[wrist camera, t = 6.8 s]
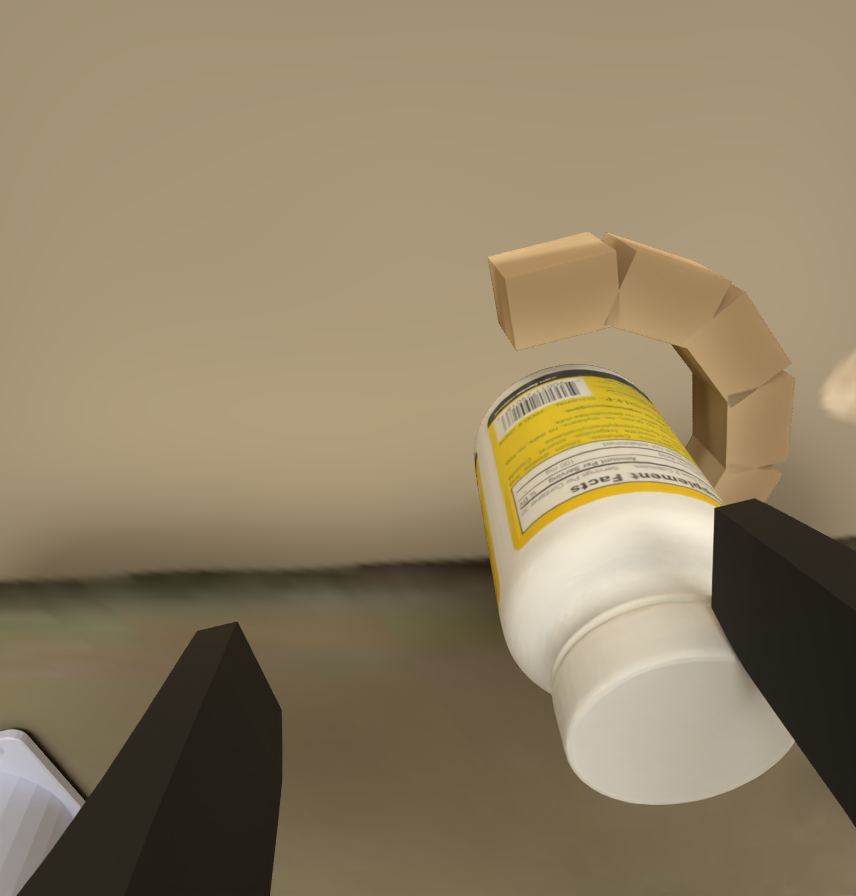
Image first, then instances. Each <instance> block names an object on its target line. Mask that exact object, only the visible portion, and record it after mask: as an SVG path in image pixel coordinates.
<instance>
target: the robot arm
mask: <svg viewBox="0 0 856 896" xmlns="http://www.w3.org/2000/svg"><path fill="white" fill-rule="evenodd" d="M711 608H712V610H713V612H714V614H715V616H716V618H717V620H718V621H719V623H720V625H721V627H722V629H723V631H724V633H725V635H726V637H727V639H728V641H729V642H730V644H731V646H732V648H733V650H734V651H735V653H736V655H737V657H738V658H739V660H740V662H741V664H742V666H743V667H744V669H745V671H746V672H747V673H748V675H749V676H750V678H751V679H752V681H753V682H754V684H755V685H756V687H757V688H758V689H759V691H760V692H761V694H762V695H763V697H764V698H765V699H766V701H767V702H768V704H769V705H770V706H771V708H772V709H773V711H774V712H775V714H776V715H777V716H778V718H779V719H780V721H781V722H782V724H783V725H784V726H785V728H786V729H787V731H788V732H789V733H790V735H791V736H792V738H793V739H794V740H795V742H796V743H797V745H798V746H799V747H800V749H801V750H802V752H803V753H804V754H805V756H806V757H807V759H808V760H809V761H810V763H811V764H812V766H813V767H814V768H815V770H816V771H817V773H818V774H819V775H820V777H821V778H822V780H823V781H824V782H825V784H826V785H827V787H828V788H829V789H830V791H831V792H832V794H833V795H834V797H835V798H836V799H837V801H838V802H839V804H840V805H841V806H842V808H843V809H844V811H845V812H846V813H847V815H848V817H849V818H850V820H851V821H852V823H853V824H854V826H855V827H856V551H854V550H853V549H851V548H849V547H847V546H845V545H843V544H841V543H839V542H838V541H836V540H834V539H832V538H830V537H828V536H826V535H824V534H822V533H821V532H819V531H817V530H815V529H813V528H811V527H809V526H807V525H806V524H804V523H802V522H800V521H798V520H796V519H794V518H793V517H790V516H789V515H787V514H785V513H783V512H781V511H779V510H777V509H775V508H773V507H772V506H770V505H768V504H766V503H764V502H762V501H760V500H758V499H755V498H753V499H749V500H745V501H741V502H737V503H732V504H728V505H724V506H720V507H716V508H714V533H713V564H712V596H711ZM281 786H282V710H281V708H280V706H279V704H278V702H277V700H276V698H275V696H274V694H273V692H272V690H271V688H270V686H269V684H268V682H267V680H266V678H265V676H264V674H263V672H262V670H261V668H260V666H259V664H258V662H257V660H256V658H255V656H254V654H253V652H252V650H251V648H250V646H249V644H248V642H247V640H246V638H245V636H244V634H243V632H242V630H241V628H240V626H239V624H238V622H233V623H229V624H225V625H221V626H217V627H212V628H208V629H204V630H200V631H197V632H196V634H195V636H194V637H193V639H192V640H191V642H190V643H189V645H188V646H187V648H186V649H185V651H184V652H183V654H182V655H181V657H180V659H179V660H178V662H177V663H176V665H175V666H174V668H173V670H172V671H171V673H170V674H169V676H168V678H167V679H166V681H165V682H164V684H163V685H162V687H161V689H160V690H159V692H158V693H157V695H156V697H155V698H154V700H153V701H152V703H151V704H150V706H149V708H148V709H147V711H146V712H145V714H144V715H143V717H142V719H141V720H140V722H139V723H138V725H137V726H136V728H135V729H134V731H133V732H132V734H131V735H130V737H129V738H128V740H127V741H126V743H125V745H124V746H123V748H122V749H121V751H120V752H119V754H118V755H117V757H116V758H115V760H114V761H113V763H112V764H111V766H110V767H109V769H108V770H107V772H106V773H105V775H104V776H103V778H102V779H101V781H100V782H99V784H98V785H97V786H96V788H95V789H94V791H93V792H92V793H91V795H90V796H89V798H88V799H87V800H86V801H85V800H84V799H83V798H82V797H81V796H80V795H79V793H78V792H77V791H76V790H75V789H74V788H73V787H72V785H71V784H70V783H69V782H68V781H67V780H66V778H65V777H64V776H63V775H62V774H61V773H60V772H59V770H58V769H57V768H56V767H55V766H54V765H53V764H52V762H51V761H50V760H49V759H48V758H47V757H46V756H45V754H44V753H43V752H42V751H41V750H40V749H39V747H38V746H37V745H36V744H35V743H34V742H33V741H32V739H31V738H30V737H29V736H28V735H27V734H26V733H25V732H23V731H21V730H16V729H9V730H4V731H0V896H270V890H271V880H272V871H273V862H274V853H275V844H276V835H277V826H278V816H279V806H280V797H281Z"/></svg>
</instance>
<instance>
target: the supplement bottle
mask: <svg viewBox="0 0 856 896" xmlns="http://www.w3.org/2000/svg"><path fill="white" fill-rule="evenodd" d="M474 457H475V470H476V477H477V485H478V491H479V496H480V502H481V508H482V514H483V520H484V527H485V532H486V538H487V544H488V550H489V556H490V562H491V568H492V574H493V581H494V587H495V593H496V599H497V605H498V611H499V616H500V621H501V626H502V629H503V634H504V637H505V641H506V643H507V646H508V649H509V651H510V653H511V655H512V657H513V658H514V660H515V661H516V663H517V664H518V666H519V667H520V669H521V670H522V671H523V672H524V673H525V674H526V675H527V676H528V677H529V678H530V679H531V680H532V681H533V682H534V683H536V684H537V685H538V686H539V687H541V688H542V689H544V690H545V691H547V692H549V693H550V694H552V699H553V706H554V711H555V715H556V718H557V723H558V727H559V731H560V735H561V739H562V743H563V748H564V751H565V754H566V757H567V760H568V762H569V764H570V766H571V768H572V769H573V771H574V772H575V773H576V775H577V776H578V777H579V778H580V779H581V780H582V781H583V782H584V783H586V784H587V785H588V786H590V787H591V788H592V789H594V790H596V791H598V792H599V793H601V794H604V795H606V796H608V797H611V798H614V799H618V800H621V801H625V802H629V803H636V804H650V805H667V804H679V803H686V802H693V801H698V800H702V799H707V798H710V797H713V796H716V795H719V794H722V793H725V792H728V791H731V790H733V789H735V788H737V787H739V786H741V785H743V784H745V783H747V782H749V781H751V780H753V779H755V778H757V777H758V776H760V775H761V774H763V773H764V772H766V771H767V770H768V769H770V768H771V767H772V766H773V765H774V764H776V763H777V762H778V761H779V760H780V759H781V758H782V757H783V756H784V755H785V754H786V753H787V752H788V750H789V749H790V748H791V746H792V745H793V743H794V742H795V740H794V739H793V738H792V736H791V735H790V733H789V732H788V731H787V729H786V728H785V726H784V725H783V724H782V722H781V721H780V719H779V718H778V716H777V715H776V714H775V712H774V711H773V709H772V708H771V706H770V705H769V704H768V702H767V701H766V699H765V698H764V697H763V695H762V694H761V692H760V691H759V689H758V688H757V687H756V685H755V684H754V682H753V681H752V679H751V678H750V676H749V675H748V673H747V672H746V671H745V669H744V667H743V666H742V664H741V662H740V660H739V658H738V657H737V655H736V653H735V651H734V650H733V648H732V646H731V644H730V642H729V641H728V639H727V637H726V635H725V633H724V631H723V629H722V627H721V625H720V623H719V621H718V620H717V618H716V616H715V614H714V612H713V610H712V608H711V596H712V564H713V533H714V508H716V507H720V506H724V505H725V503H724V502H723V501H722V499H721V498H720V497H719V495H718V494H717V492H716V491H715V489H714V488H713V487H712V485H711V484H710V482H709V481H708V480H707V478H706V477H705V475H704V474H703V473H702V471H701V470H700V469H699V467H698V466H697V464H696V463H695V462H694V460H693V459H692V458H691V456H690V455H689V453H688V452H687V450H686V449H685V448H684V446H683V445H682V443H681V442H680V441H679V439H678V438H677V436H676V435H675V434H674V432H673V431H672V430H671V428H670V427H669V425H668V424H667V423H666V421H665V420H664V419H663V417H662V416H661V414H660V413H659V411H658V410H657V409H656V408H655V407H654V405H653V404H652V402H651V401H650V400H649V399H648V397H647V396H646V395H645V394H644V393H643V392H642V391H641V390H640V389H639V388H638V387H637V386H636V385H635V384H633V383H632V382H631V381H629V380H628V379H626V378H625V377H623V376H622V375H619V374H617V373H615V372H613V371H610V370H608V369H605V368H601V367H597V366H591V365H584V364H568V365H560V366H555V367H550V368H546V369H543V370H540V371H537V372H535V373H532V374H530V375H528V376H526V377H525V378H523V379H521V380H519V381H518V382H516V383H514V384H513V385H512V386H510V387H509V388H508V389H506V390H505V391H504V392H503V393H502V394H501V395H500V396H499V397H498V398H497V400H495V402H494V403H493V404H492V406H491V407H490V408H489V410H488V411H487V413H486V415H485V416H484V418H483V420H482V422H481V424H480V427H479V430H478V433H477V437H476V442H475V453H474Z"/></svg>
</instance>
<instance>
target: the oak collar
mask: <svg viewBox="0 0 856 896" xmlns="http://www.w3.org/2000/svg"><path fill="white" fill-rule="evenodd" d="M488 262H489V267H490V273H491V279H492V285H493V291H494V297H495V303H496V309H497V315H498V321H499V324H500V326H501V327H502V329H503V330H504V332H505V333H506V335H507V337H508V338H509V340H510V342H511V343H512V345H513V346H514V348H515V350H521V349H525V348H529V347H533V346H537V345H541V344H545V343H549V342H553V341H557V340H561V339H565V338H569V337H573V336H577V335H581V334H585V333H589V332H593V331H597V330H601V329H605V328H609V327H615V328H618V329H621V330H625V331H628V332H632V333H635V334H639V335H642V336H646V337H649V338H653V339H657V340H660V341H663V342H667V343H670V344H672V346H673V347H674V349H675V350H676V351H677V353H678V354H679V355H680V356H681V358H682V359H683V360H684V361H685V363H686V364H687V366H688V367H689V368H690V370H691V371H692V373H693V375H692V376H693V377H692V378H693V379H692V380H693V435H692V437H691V439H690V440H689V442H688V444H687V446H686V448H685V449H686V450H687V452H688V453H689V455H690V456H691V458H692V459H693V460H694V462H695V463H696V464H697V466H698V467H699V469H700V470H701V471H702V473H703V474H704V475H705V477H706V478H707V480H708V481H709V482H710V484H711V485H712V487H713V488H714V489H715V491H716V492H717V494H718V495H719V497H720V498H721V499H722V501H723V502H724V503H725V505H728V504H732V503H737V502H741V501H745V500H749V499H753V498H755V499H758V500H760V501H762V502H765V501H766V499H767V498H768V496H769V495H770V493H771V492H772V490H773V489H774V487H775V485H776V484H777V483H778V481H779V480H780V478H781V477H782V474H781V473H780V472H779V471H778V470H777V469H776V468H774V467H773V466H772V465H771V464H775V463H779V462H783V461H787V460H788V455H789V444H790V443H789V442H790V431H791V420H792V409H793V397H794V385H795V378H794V377H792V376H791V375H789V374H788V373H786V372H785V371H783V369H785V368H786V367H787V366H789V365H790V364H791V361H790V360H789V358H788V357H787V355H786V354H785V352H784V351H783V349H782V348H781V346H780V345H779V343H778V341H777V340H776V338H775V337H774V335H773V334H772V332H771V331H770V329H769V328H768V326H767V324H766V323H765V321H764V320H763V318H762V317H761V315H760V314H759V312H758V310H757V309H756V307H755V306H754V304H753V303H752V301H751V300H750V298H749V297H748V295H747V293H746V292H744V291H743V290H741V289H739V288H737V287H735V286H733V285H732V284H731V283H732V282H731V281H729V280H728V279H726V278H724V277H722V276H720V275H719V274H717V273H715V272H713V271H711V270H709V269H707V268H705V267H704V266H702V265H700V264H698V263H696V262H695V261H693V260H690V259H687V258H684V257H681V256H678V255H674V254H671V253H668V252H665V251H662V250H659V249H656V248H653V247H650V246H647V245H644V244H641V243H638V242H635V241H632V240H629V239H626V238H623V237H619V236H617V235H613V234H610V233H607V232H606V234H605V236H604V238H603V241H601V240H599V239H598V238H596V237H595V236H593V235H592V234H590V233H589V232H584V233H581V234H576V235H572V236H569V237H565V238H561V239H557V240H553V241H549V242H545V243H541V244H537V245H533V246H529V247H525V248H521V249H517V250H513V251H509V252H505V253H502V254H497V255H493V256H489V257H488Z"/></svg>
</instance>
